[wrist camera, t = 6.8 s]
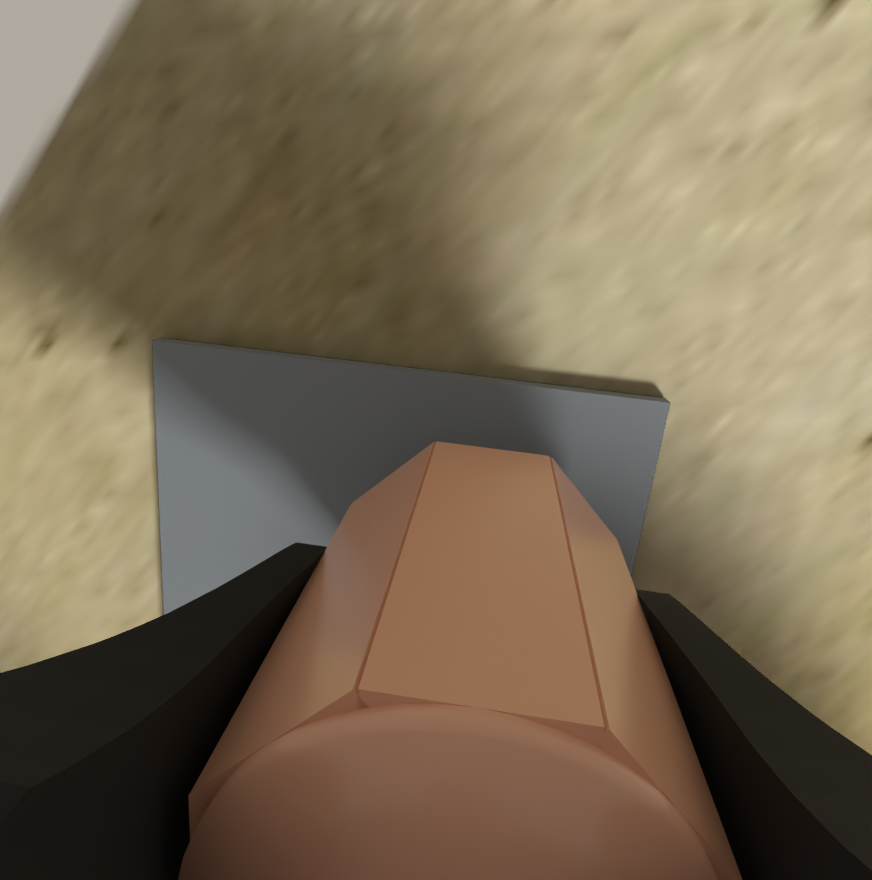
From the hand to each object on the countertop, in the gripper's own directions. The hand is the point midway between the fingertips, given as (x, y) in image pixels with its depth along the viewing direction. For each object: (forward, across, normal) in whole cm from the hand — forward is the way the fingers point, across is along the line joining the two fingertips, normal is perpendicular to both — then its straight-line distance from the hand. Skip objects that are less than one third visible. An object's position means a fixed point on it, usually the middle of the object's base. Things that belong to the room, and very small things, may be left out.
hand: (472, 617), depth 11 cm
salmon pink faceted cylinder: (+2, 0, 0) cm, 2 cm away
